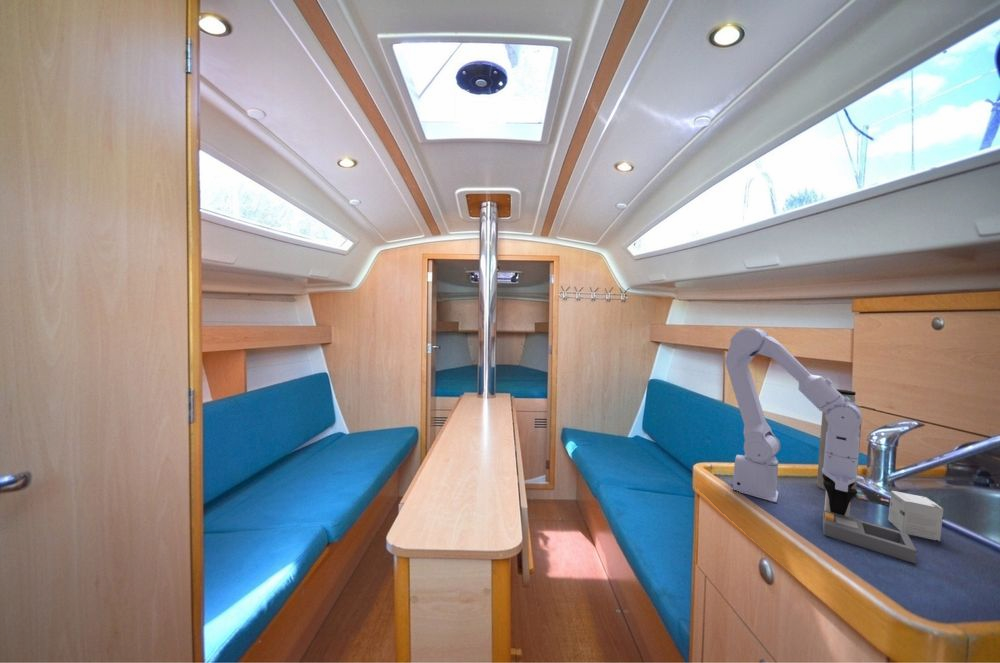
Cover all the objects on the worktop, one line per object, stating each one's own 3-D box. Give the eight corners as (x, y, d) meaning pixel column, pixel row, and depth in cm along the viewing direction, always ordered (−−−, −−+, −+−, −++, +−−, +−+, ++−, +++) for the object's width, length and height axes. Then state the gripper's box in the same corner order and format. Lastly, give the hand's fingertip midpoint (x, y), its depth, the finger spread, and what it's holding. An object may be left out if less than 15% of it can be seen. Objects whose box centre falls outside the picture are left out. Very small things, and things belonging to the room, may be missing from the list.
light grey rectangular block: (824, 517, 84) (827, 487, 84) (824, 511, 87) (826, 482, 87) (848, 524, 82) (851, 493, 81) (847, 518, 85) (849, 487, 84)
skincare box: (887, 520, 85) (889, 489, 84) (923, 528, 82) (926, 496, 82) (902, 533, 79) (905, 500, 79) (941, 542, 76) (944, 508, 76)
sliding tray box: (823, 534, 77) (824, 520, 77) (822, 520, 83) (823, 507, 83) (915, 563, 68) (916, 547, 68) (906, 545, 75) (907, 530, 74)
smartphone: (849, 490, 102) (849, 485, 102) (928, 507, 93) (928, 502, 93) (857, 501, 95) (857, 496, 95) (943, 520, 87) (943, 515, 87)
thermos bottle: (836, 483, 104) (844, 388, 104) (864, 497, 96) (872, 393, 96) (809, 482, 104) (816, 386, 104) (834, 495, 97) (842, 392, 96)
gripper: (869, 467, 76) (864, 530, 76) (861, 451, 87) (856, 506, 87) (824, 458, 80) (820, 517, 81) (822, 443, 91) (818, 496, 92)
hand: (836, 511), depth 84 cm, fingers closed on light grey rectangular block, 4 cm apart
